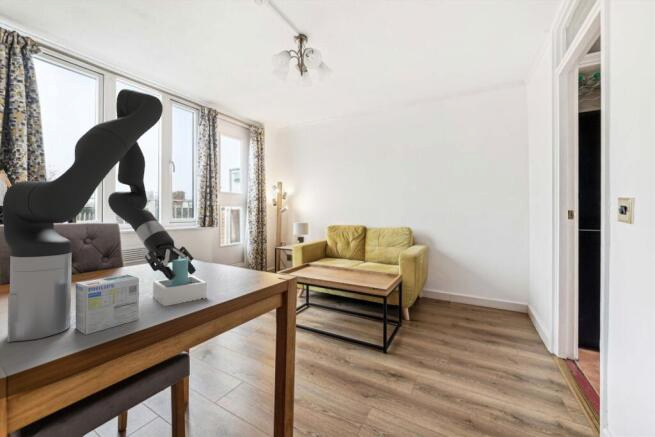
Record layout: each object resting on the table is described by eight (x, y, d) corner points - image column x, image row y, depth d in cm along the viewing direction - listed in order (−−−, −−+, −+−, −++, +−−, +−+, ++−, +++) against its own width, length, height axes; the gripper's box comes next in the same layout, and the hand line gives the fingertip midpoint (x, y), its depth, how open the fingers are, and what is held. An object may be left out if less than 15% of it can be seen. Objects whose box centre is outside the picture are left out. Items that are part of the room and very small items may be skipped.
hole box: (163, 306, 77) (164, 289, 77) (153, 296, 85) (153, 281, 85) (206, 297, 85) (206, 282, 85) (192, 289, 94) (193, 275, 94)
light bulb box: (127, 314, 70) (128, 273, 70) (139, 320, 67) (140, 277, 67) (73, 328, 61) (74, 281, 61) (84, 336, 58) (85, 286, 58)
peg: (174, 300, 82) (174, 261, 82) (169, 297, 85) (170, 259, 85) (189, 297, 85) (190, 260, 85) (184, 294, 88) (185, 258, 88)
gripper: (141, 231, 80) (172, 272, 77) (179, 229, 94) (206, 263, 91) (127, 247, 81) (157, 288, 79) (166, 243, 95) (192, 278, 92)
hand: (183, 275), depth 85 cm, fingers open, 8 cm apart
